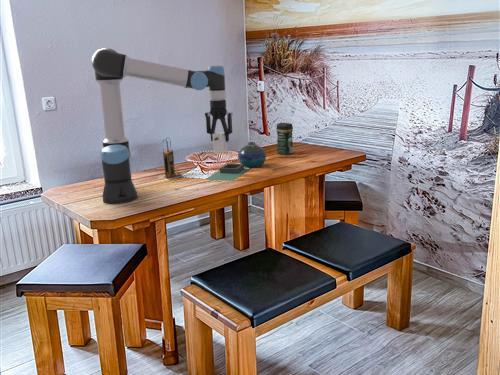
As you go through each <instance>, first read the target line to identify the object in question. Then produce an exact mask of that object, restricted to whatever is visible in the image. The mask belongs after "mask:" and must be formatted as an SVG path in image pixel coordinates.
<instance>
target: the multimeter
mask: <svg viewBox="0 0 500 375" xmlns="http://www.w3.org/2000/svg"><path fill="white" fill-rule="evenodd" d="M168 139H169V142H168ZM164 141H165V142H166V151H165V150H164V149H162V156H163V165H164V175H165V176H164V177H165V178H167V180H170V181H172V180H176V179H179V178H180V177H182V178H183V177H185V176H184V175H181V174H180V172H177V171H176V169H175V160H174V159H175V157H174V150H173V149H170V148H172V144H171V142H172V141H171V138H170V137H166V138H165V139H163V140H162V142H164ZM169 145H170V148H169ZM175 174H177V176H176V177H174V178H172V177H173V176H174V175H175Z"/></svg>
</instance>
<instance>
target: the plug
mask: <svg viewBox="0 0 500 375" xmlns="http://www.w3.org/2000/svg"><path fill="white" fill-rule="evenodd" d="M224 134H225V133H224V131H215V133H214V134H212V137H213V141H212V151H213V153H215V154H224V153H226V152H227V151H229V150H228V148H226V149H224V137H223V135H224Z"/></svg>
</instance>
